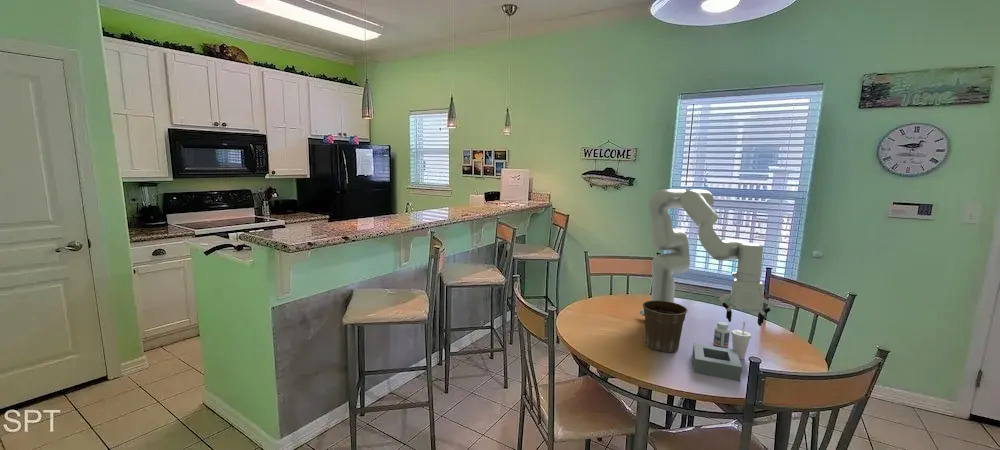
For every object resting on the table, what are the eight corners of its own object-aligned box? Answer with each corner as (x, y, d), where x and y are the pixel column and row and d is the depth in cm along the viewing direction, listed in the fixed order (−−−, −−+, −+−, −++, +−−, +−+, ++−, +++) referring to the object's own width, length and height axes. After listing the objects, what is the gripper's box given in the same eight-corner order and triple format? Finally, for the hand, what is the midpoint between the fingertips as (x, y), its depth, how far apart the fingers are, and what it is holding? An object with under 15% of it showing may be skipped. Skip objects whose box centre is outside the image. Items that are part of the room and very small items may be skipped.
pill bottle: (726, 342, 169) (729, 322, 167) (729, 348, 164) (731, 326, 162) (712, 340, 170) (714, 320, 169) (714, 346, 165) (716, 324, 164)
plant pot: (630, 340, 168) (633, 302, 166) (661, 335, 175) (664, 298, 172) (660, 358, 154) (664, 316, 151) (693, 351, 160) (697, 311, 158)
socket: (694, 372, 144) (695, 358, 143) (692, 355, 156) (693, 343, 156) (740, 381, 138) (742, 367, 138) (734, 363, 151) (736, 350, 150)
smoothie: (751, 362, 152) (755, 325, 150) (732, 360, 154) (736, 324, 151) (744, 354, 158) (748, 319, 156) (726, 352, 160) (730, 317, 158)
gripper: (722, 277, 151) (718, 322, 153) (778, 282, 145) (773, 329, 147) (720, 272, 158) (716, 316, 160) (773, 277, 151) (769, 322, 154)
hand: (744, 322), depth 153 cm, fingers open, 9 cm apart
